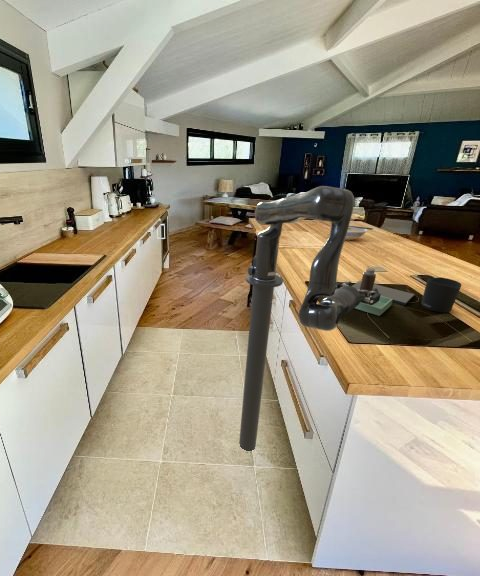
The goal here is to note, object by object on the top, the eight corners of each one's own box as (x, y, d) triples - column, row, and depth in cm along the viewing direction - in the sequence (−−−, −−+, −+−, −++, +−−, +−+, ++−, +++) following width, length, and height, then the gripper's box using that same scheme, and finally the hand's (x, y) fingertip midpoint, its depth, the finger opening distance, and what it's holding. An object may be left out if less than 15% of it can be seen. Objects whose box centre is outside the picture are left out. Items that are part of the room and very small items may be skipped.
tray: (334, 302, 115) (336, 295, 114) (348, 293, 123) (349, 287, 122) (379, 316, 105) (381, 309, 104) (391, 305, 113) (392, 299, 112)
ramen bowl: (320, 238, 212) (322, 226, 209) (335, 233, 226) (337, 222, 223) (358, 245, 195) (361, 232, 192) (372, 239, 210) (375, 227, 206)
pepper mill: (355, 302, 114) (362, 269, 109) (359, 299, 116) (366, 267, 112) (366, 305, 111) (374, 272, 106) (370, 302, 114) (378, 269, 109)
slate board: (348, 289, 126) (349, 287, 126) (359, 282, 134) (360, 280, 134) (405, 305, 113) (405, 302, 113) (413, 296, 121) (414, 294, 120)
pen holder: (416, 300, 117) (424, 275, 113) (447, 304, 114) (456, 279, 110) (423, 310, 109) (431, 284, 105) (456, 315, 106) (466, 288, 102)
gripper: (369, 296, 92) (387, 283, 102) (323, 283, 102) (343, 272, 112) (364, 318, 95) (382, 303, 105) (319, 304, 104) (340, 291, 115)
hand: (362, 287), depth 109 cm, fingers open, 8 cm apart
